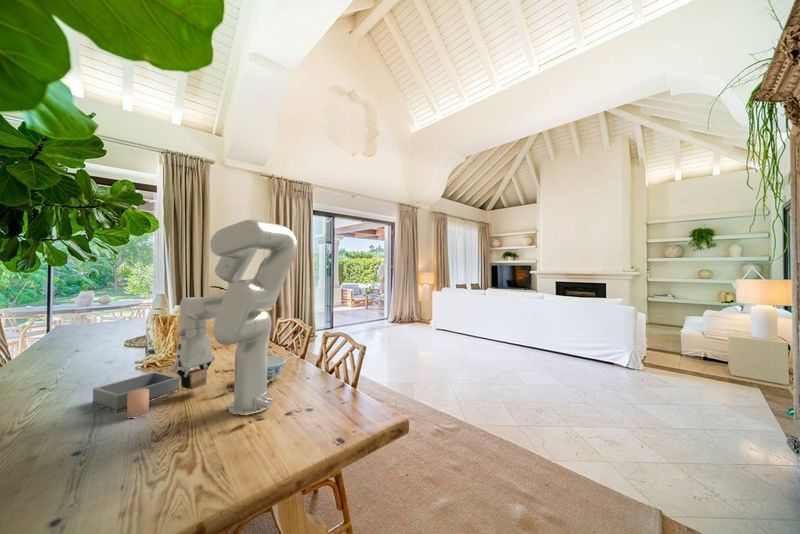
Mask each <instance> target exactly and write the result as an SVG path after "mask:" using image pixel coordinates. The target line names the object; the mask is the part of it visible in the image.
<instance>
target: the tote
mask: <svg viewBox="0 0 800 534" xmlns="http://www.w3.org/2000/svg"><path fill="white" fill-rule="evenodd" d="M143 388H147V389H149V400H152V399H155V398H158V397H160V396H163V395H165V394H168V393H171V392H174V391H176V390H179V391H180V376H176V375H172V374H167V373H164V372H159V371H153V372H149V373H146V374H145V373H144V374H141V375H138V376H135V377H131V378H127V379H123V380H119V381H116V382H111V383H108V384H104V385H101V386H97V387H94V388H93V389H92V404H93V405H94V404H96V405H95V406H97V405H99V406H98V407H100V406H102V407H104V408H103V409H105V408H107V409H106V410H108V409H110V410H109V411H111V410H113V411H116V412H118V413H120V412H119V411H121V412H123V411H122V410H124V409H126V410H127V394H128V392H130V391H133V390H136V389H143ZM158 399H159V398H158ZM155 400H156V399H155ZM102 407H101V408H102ZM113 411H112V412H113ZM124 411H125V410H124ZM116 412H115V413H116Z"/></svg>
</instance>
